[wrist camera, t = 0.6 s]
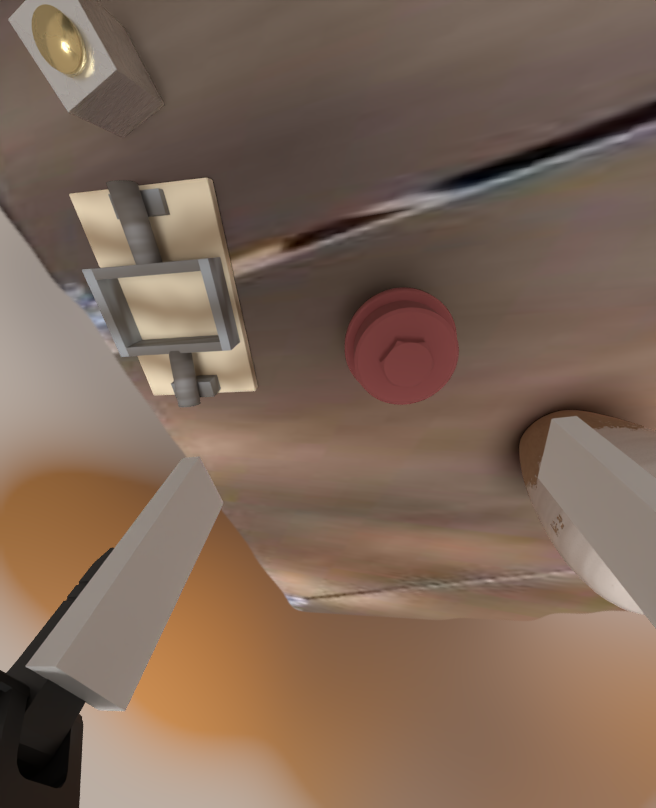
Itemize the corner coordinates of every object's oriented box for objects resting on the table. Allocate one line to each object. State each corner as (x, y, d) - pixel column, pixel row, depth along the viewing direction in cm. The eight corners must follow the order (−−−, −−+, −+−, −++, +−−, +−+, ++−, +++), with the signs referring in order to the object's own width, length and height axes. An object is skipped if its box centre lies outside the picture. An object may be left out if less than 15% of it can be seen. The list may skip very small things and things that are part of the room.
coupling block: (81, 67, 24) (-2, 12, 19) (124, 27, 23) (49, -44, 17) (123, 137, 26) (61, 109, 21) (164, 105, 25) (110, 64, 19)
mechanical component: (395, 380, 36) (329, 337, 34) (452, 312, 32) (380, 258, 30) (415, 438, 26) (320, 381, 24) (505, 347, 21) (398, 267, 19)
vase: (633, 455, 40) (917, 669, 20) (514, 496, 45) (646, 698, 25) (613, 364, 34) (992, 539, 14) (478, 423, 39) (614, 613, 19)
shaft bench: (79, 195, 29) (19, 185, 24) (212, 180, 27) (180, 165, 22) (159, 391, 39) (130, 413, 34) (258, 386, 38) (243, 409, 33)
